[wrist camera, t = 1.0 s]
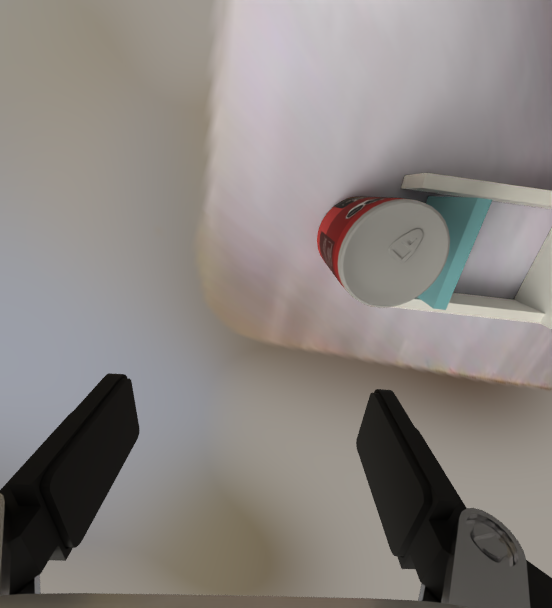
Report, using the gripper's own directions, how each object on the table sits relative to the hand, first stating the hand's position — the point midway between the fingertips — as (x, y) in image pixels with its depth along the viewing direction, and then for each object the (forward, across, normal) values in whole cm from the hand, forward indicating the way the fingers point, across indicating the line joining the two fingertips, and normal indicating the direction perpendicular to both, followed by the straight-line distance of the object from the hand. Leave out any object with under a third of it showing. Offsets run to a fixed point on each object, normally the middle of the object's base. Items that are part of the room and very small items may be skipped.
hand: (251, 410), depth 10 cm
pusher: (+21, -17, -4) cm, 27 cm away
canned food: (+21, -9, -4) cm, 24 cm away
